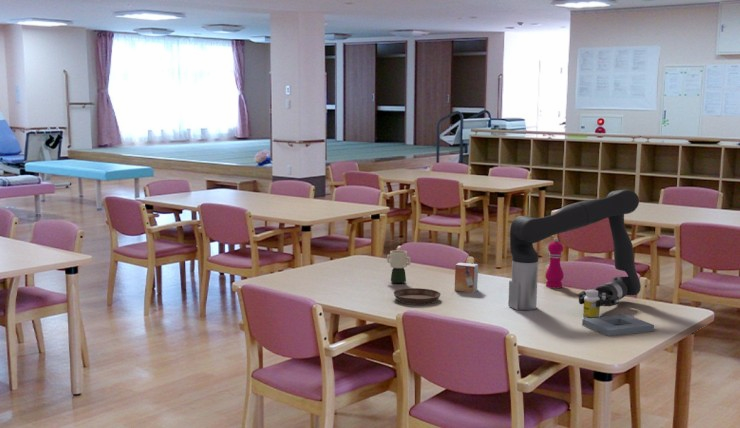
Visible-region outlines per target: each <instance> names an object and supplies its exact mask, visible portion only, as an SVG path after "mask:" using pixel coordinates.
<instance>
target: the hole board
mask: <svg viewBox="0 0 740 428" xmlns="http://www.w3.org/2000/svg"><path fill="white" fill-rule="evenodd" d="M581 321H582V322H581V323H582V324H581V325H582V326H584V327H586V328H589V329H590V330H593V331H596V332H598V333H600V334H602V335H605V336H606V337H614V336H622V335H632V334H637V333H638V334H639V333H640V334H641V333H646V332H647V333H648V332H654V331H655V324H653V323H650V322H648V321H644V320H643V319H639V318H637V317H634V316H631V315H629V314H618V315H610V316H601V317H600V316H599V317H598V318H589V319H585V318H582V320H581Z"/></svg>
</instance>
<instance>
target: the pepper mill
mask: <svg viewBox="0 0 740 428" xmlns="http://www.w3.org/2000/svg"><path fill="white" fill-rule="evenodd" d="M547 251H548V252H549V253H548V257H549V264H548V267H547V269H546V272H545V276H544V277H545V278H546V280H547V281H546V282H545V283H546V287H547V288H549V287H552V288H551V289H560V288H562V287H563V282H562V280H564V271H563V268H562V266H561V258H562V255H563V254H562V252H564V245H563V243H562V242H560V241H559V238H558V237H554V238H553V241H551V242H550V243H549V244H548V247H547Z"/></svg>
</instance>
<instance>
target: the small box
mask: <svg viewBox="0 0 740 428" xmlns="http://www.w3.org/2000/svg"><path fill="white" fill-rule="evenodd" d="M478 277H479V264H478V263H470V262H469V263H468V262H467V263H465V262H457V263H456V264H455V269H454V291H456V292H457V291H458V292H466V293H472V292H474V293H475V292H476V291H477V290H478Z"/></svg>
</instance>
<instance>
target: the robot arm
mask: <svg viewBox="0 0 740 428" xmlns="http://www.w3.org/2000/svg"><path fill="white" fill-rule="evenodd" d="M639 204H640V198H639V196H638V194H637V193H636V192H634V191H633V190H631V189H619V190H612V191H610V192H609V193H608V194H607V195H606V197H602V198H595V199H587V200H582V201H577V202H574V203H569V204H568V205H565V206H562V207H561V208H559V210H557V211H556V212H555V213H553V214H550V215H546V216H543V217H530V216H526V215H519V216H516V217H515V218H514V219H513V221H512V222H511V224H510V229H509V230H510V231H509V240H510V241H509V247H510V254H511V257H512V258H511V259H512V260H511V280H509V283H508V303H507V304H508V307H509V308H512V309H513V310H514V309H515V310H516V311H518V310H520V311H533V310H536V309H537V304H538V303H537V301H538V277H539V275H538V274H539V254H538V252H537V251H536V249H535V247H534V244H536V243H539V242H541V241H543V240H545V239H547V238H551V237H552V236H555V235H558V234H562V233H566V232H570V231H573V230H577V229H581V228H584V227H587V226H589V225H591V224H595V223H598V222H600V221H602V220H605V219H608V223H609V227H610V233H611V237H612V244H613V245H612V246H613V257H614V267H615V269H616V270H617V271H622V272H625V273H626V275H627V276H616V277H613V278H611V281H609V282H606V283H604V284H602V285H599V286H597V287H596V288H595V289H594V290H597V291H598V296H597V297H599V298H600V299H599V300H597V301H596V307H612V306H616V305H617V306H618V305H619V304H620V300H621V299H624V298H625V297H626V296H637V295H638V294H639V293H640V292H641V289H642V287H641V281H640V278H639V275H638V273H637V269H636V266H635V253H634V247H633V243H632V241H631V238H630V236H629V234H628V231H627V228H626V225H625V215H628V214H632V213H633V212H635V211H636V209H638V207H639ZM585 296H587V295H586V290H582V291H581V292H579V294H578V303H579V305H584V297H585Z"/></svg>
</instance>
